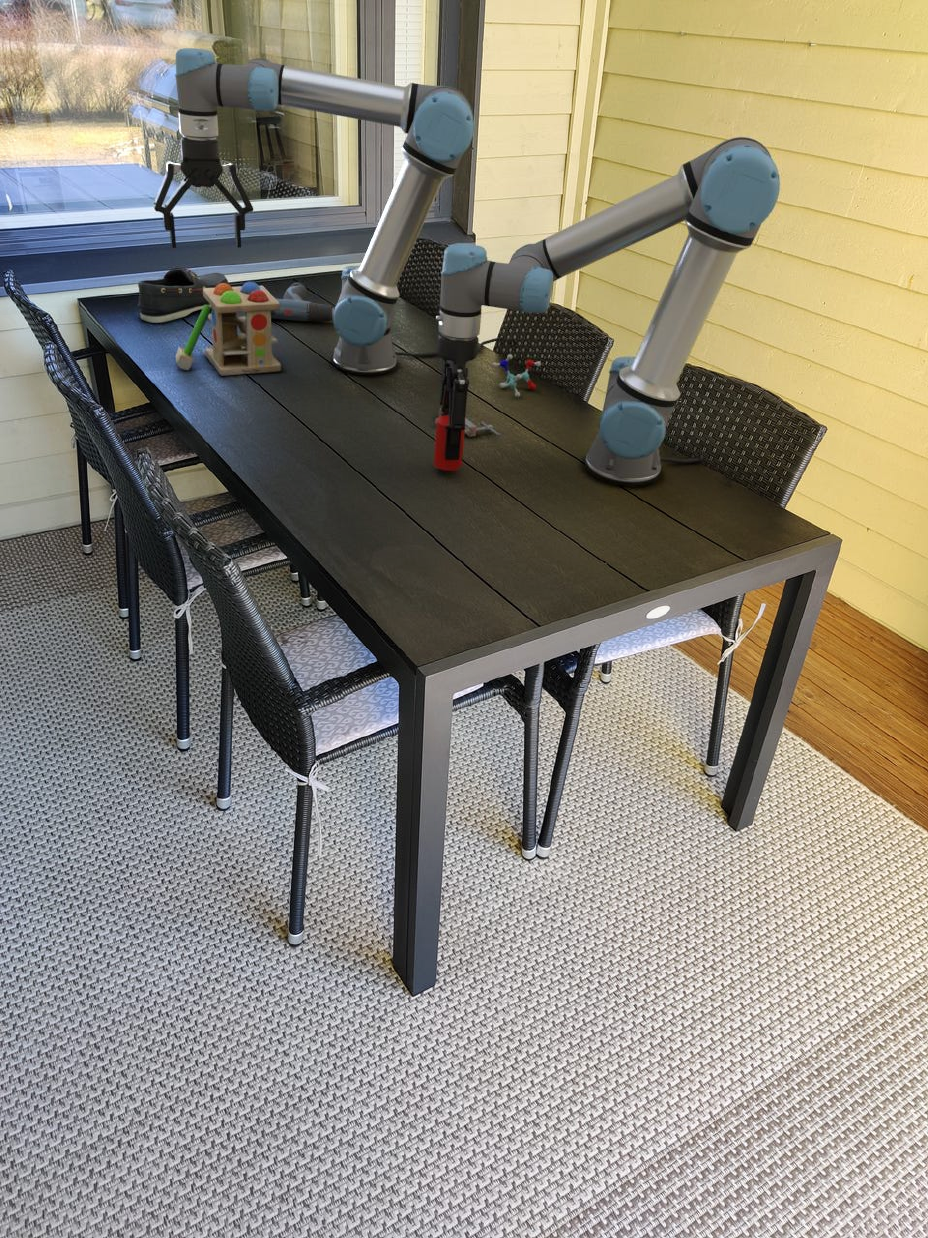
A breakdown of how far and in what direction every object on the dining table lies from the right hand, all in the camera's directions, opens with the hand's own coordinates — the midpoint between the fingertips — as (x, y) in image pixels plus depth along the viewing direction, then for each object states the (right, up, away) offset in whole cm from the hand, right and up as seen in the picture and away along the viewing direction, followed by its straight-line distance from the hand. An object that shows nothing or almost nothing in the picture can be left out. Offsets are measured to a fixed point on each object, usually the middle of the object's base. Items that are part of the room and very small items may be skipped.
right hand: (448, 451), depth 191 cm
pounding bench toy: (-53, +27, +39) cm, 71 cm away
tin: (0, -2, +1) cm, 3 cm away
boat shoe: (-71, +51, +72) cm, 113 cm away
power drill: (-40, +51, +76) cm, 100 cm away
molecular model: (+14, +22, +41) cm, 49 cm away
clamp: (+3, +8, +20) cm, 21 cm away
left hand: (-52, +47, +19) cm, 73 cm away
